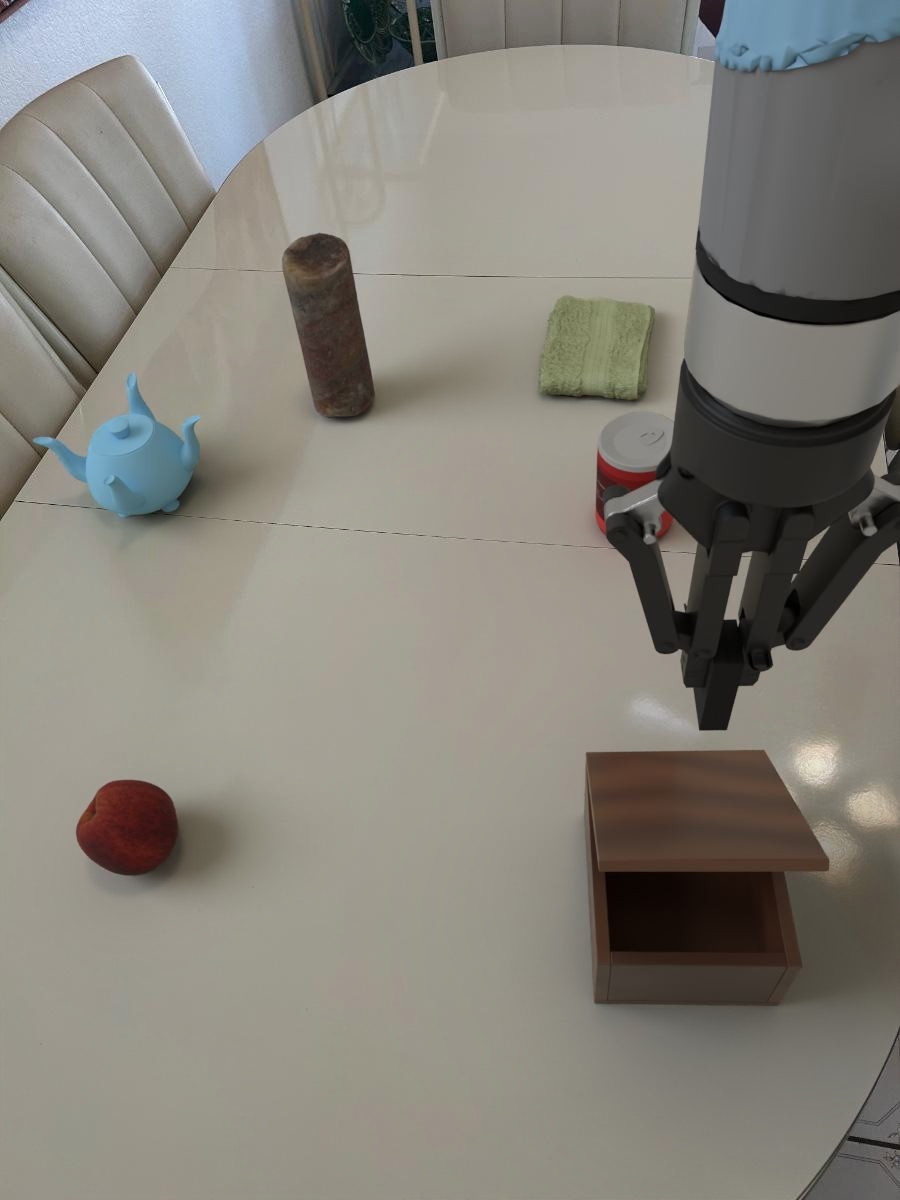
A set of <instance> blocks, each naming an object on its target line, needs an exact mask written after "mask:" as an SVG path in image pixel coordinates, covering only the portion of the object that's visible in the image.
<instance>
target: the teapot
mask: <svg viewBox="0 0 900 1200" xmlns="http://www.w3.org/2000/svg"><path fill="white" fill-rule="evenodd" d="M125 387H126V388H125V389H126V395H127V401H128V409H129V413H126V414H125V413H124V414H120V415H117V416H115V417H114V416H113V417H111V418H110V419H107V420H106V421H105V422H103V423H102V424H100V426H98V428H96V430H95V431H94V432H93V434H92V436H91V439H90V441H89V444H88V449H87V454H86V456H82V455H79V454H76V453H75V452H73V451H72V450H71V449H69V447H67V446H66V445H65V444H64V443H63V442H62V441H60V440H58V439H56V438H55V437H50V436H38V437H35V438H32V442H33V443H34V444H37V445H40V446H42V447H46V448H47V449H49V450H51V452H52V453H54V454H55V456H56V457H57V458H58V460H59V461H60V463H61V464H62V466H63V468H65V470H66V471H67V473H68V474H69V475H70V476H72V477H73V478H74V479H75V480H78V481H79V482H82V483H84V484H85V483H86V484H87V486H88V489H89V492H90V494H91V496H92V497H93V499H94V501H95V502H96V503H97V504H98V505H99V506H101V507H102V508H104V509H106V510H108V511H109V512H114V513H117V515H118V517H120V518H128V517H130V516H137V515H138V516H139V515H140V516H141V515H145V514H151V513H154V512H156V511H159V510H162V512H166V513H171V512H173V511H175V510H176V509H178V508H179V505H180V501H179V500H178V498H179V497H180V496H181V495H182V494H183V492H184V491H185V489H186V488H187V486H188V485H189V483H190V481H191V479H192V476H193V471H194V467H196V466H197V464H198V461H199V460H200V458H201V445H200V442H199V439H198V437H197V435H196V432H195V426H196V424H197V423H198V421H199V420H201V417H202V416H201V415H200V414H195V415H193V416H190V417H188V418H187V419H186V420H184V421H183V423H182V425H181V434H182V438H183V439H182V438H181V437H180V435H178V434H177V433H176V432H175V431H174V430H173V429H171V428H170V427H168V426H167V425H165V424H163V423H161V422H160V421H158V420H156V418H155V415H154V413H153V411H152V410H151V408H150V407H149V406H148V404H147V403H146V401H145V400H144V398H143V396H142V394H141V392H140V389H139V386H138V380H137V375H136V374H135V372H130V373H128V376H127V378H126V383H125Z"/></svg>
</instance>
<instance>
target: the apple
mask: <svg viewBox="0 0 900 1200" xmlns="http://www.w3.org/2000/svg"><path fill="white" fill-rule="evenodd" d="M178 821H179V820H178V817H177V811H176V806H175V803H174V801H173V799H172V797H171V795H169V794H168V793H167V791H166V790H164V789H163V788H161V787H160V786H158V785H156V784H154V783H151V782H148V781H145V780H138V779H117V780H112V781H109V782H107V783H106V784H104V785H102V786H101V787H100V788H99V789H97V791H96V793H95V794H94V797H93V798H92V800H91V801H90V803H89V804H88V806H87V808H86V809H84V811H83V813H82V814H81V816H80V817H79V819H78V821H77V824H76V829H75V837H76V841H77V844H78V847H80V849H81V850H82V852H83V853H84V854H85V855H86V856H87V858H88V859H90V860H91V861H92V862H93V863H95V864H96V865H98V866H99V867H101V868H103V869H104V870H106V871H108V872H110V873H114V874H116V875H120V876H127V877H128V876H129V877H136V876H141V875H145V874H149V873H151V872H153V871H155V870H157V869H158V868H159V867H160V866H162V864H163V863H165V861H166V860H167V859H168V858H169V857H170V855H171V853H172V852H173V850H174V849H175V846H176V842H177V840H178V836H179V822H178Z"/></svg>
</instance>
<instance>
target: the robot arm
mask: <svg viewBox="0 0 900 1200" xmlns="http://www.w3.org/2000/svg"><path fill="white" fill-rule="evenodd" d="M722 13H723V14H722V18H721V22H720V23H721V24H720V27H719V31H718V33H717V35H716V37H715V41H714V51H713V59H714V66H713V67H714V68H713V75H712V76H713V78H712V86H711V87H712V88H711V96H710V97H711V98H710V107H709V118H708V126H707V136H706V145H705V156H704V165H703V176H702V185H701V194H700V195H701V196H700V203H699V206H700V207H699V213H698V214H699V216H698V224H697V225H698V226H697V233H696V241H695V254H694V263H693V270H692V278H691V285H690V293H689V301H688V307H687V315H686V323H685V331H684V337H683V358H682V362H681V365H680V371H679V378H678V379H679V380H678V387H677V388H678V389H677V395H676V404H675V413H674V420H673V421H674V428H673V436H672V444H671V447H670V449H669V451H668V453H667V454H666V456H665V457H664V458H663V459H662V460H661V461H660V463H659V464H658V466H657V469H656V472H655V481H653V482H651V483H648V484H646V485H644V486H642V487H640V488H638V489H636V490H634V491H632V492H631V491H630V490H629V489H628V488H627V487H626V486H623V485H613V486H610V487H608V488H607V489H605V491H604V492H603V505H604V516H605V528H606V535H605V537H606V539H607V542H608V543H609V544H611V546H612V547H613V548H614V549H615V550H616V551H618V553H619V554H620V555H621V556H622V557H623V558H625V560H626V561H627V562H628V565H629V568H630V571H631V574H632V577H633V581H634V584H635V587H636V591H637V595H638V598H639V601H640V604H641V607H642V611H643V614H644V618H645V621H646V624H647V627H648V630H649V634H650V637H651V640H652V644H653V647H654V649H655V651H656V653H658V654H660V655H673V654H674V653H677V652H678V651H679V650H680V651H681V654H680V660H679V661H680V669H681V677H682V683H683V685H684V687H685V688H686V689H692V691H693V696H694V698H693V699H694V704H695V710H696V711H695V712H696V718H697V719H696V720H697V724H698V731H699V732H704V731H705V732H707V731H728V728H729V724H730V720H731V716H732V712H733V709H734V705H735V701H736V698H737V694H738V690H739V687H753V686H754V685H755V684H756V683H758V682H759V679H760V675H761V673H763V672H764V673H765V672H767V671H769V670H771V669H772V668H773V666H774V662H773V657H772V649H774V648H777V647H781V646H785V648H786V649H787V650H790V651H794V652H795V651H796V652H797V651H803V650H805V649H807V648H809V647H810V646H811V645H812V644H813V643H814V641H815V640H816V639H817V637H818V636H819V635H820V634H821V632H822V631H823V630H824V628H825V627H826V625H827V624H828V623H829V622H830V620H831V619H832V618H833V616H834V615H835V614H836V613H837V611H838V610H839V609H840V608H841V606H842V605H843V604H844V602H846V601H847V599H848V597H849V596H850V595H851V593H852V592H853V591H854V590H855V589H856V587H857V586H858V584H859V583H860V582H861V581H862V579H863V578H864V577H865V575H866V574H867V573H868V572H869V571H870V569H871V568H872V566H873V565H874V564H875V562H877V560H878V559H879V557H880V556H881V555H882V554H883V553H884V552H885V551H886V550H888V549H890V548H891V547H892V546H894V545H895V544H897V543H898V542H899V541H900V473H898V472H887V473H885V474H883V475H881V476H877V475H875V474H874V472H873V469H872V468H871V466H872V464H873V462H874V459H875V456H876V453H877V451H878V448H879V445H880V443H881V439H882V436H883V435H884V430H885V428H886V425H887V422H888V419H889V416H890V413H891V412H892V409H893V405H894V402H895V399H896V396H897V388H898V387H899V386H900V0H725V1H724V7H723V12H722ZM665 511H667V512H668V513H669V514H670V515H671V516H672V517H673V520H675V521H676V522H677V523H678V524H679V525H680V527H682V528H683V529H684V530H685V531H686V533H688V534H689V535H690V536H691V537H692V538H693V539H694V540H695V542H697V544H696V550H695V556H694V561H693V568H692V574H691V580H690V585H689V591H688V597H687V602H686V603H685V602H684V603H683V608H684V611H680V610H676V606H675V602H674V600H673V599H674V598H673V594H672V590H671V586H670V582H669V580H668V576H667V571H666V567H665V564H664V560H663V556H662V552H661V548H660V544H659V540H658V539H657V536H656V534H658V533H659V532H660V531H661V529H662V521H661V515H662V514H663V513H664V512H665ZM825 530H826V532H825V533H824V534H823V536H822V537H821V539H820V540H819V542H817V544H816V546H815V548H814V549H813V550H812V552H811V554H809V556H808V558H807V559H806V561H804V563H803V560H804V557H805V554H806V551H807V546H808V544H809V542H810V541H812V540H813V539H814V538H815V537H817V536H818V535H820V534H821V533H822V532H824V531H825ZM745 553H751V555H750V560H749V564H748V569H747V573H746V577H745V580H744V581H745V582H744V586H743V589H742V595H741V598H740V603H739V606H738V607H739V608H738V612H737V615H738V616H737V617H738V621H737V618H735V619H734V618H733V619H731V618H730V619H729V618H728V619H725V615H726V612H727V607H728V603H729V598H730V593H731V590H732V589H731V588H732V585H733V580H734V577H737V576H738V574H739V570H740V565H741V561H742V557H743V554H745ZM802 563H803V564H802ZM794 575H795V576H794ZM793 577H794V578H793Z"/></svg>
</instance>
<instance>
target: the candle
mask: <svg viewBox="0 0 900 1200" xmlns="http://www.w3.org/2000/svg"><path fill="white" fill-rule="evenodd" d="M281 267H282V268H281V269H282V274H283V277H284V282H285V286H286V289H287V291H286V292H287V294H288V298H289V302H290V307H291V312H292V316H293V320H294V323H295V324H294V325H295V329H296V332H297V333H296V334H297V336H298V340H299V345H300V348H301V353H302V357H303V362H304V367H305V371H306V377H307V381H308V384H309V388H310V393H311V397H312V398H311V399H312V402H313V406H314V408H315V411H316V412H317V413H318V414H320V415H321V416H323V417H327V418H333V417H354V416H358V415H359V414H361V413H362V412H364V411H365V410H367V409H368V407H369V405H370V404H371V403H372V402H373V400H374V398H375V395H376V391H375V386H374V380H373V379H374V378H373V374H372V368H371V362H370V357H369V353H368V347H367V342H366V341H367V340H366V336H365V331H364V330H365V329H364V325H363V320H362V315H361V311H360V310H361V309H360V304H359V299H358V292H357V288H356V280H355V276H354V270H353V265H352V259H351V253H350V249H349V247H348V245H347V243H346V241H344V240H343V239H342V238H341V237H338V236H336V235H332V234H328V233H324V232H318V233H317V232H316V233H314V234H308V235H306V236H301V237H298V238H297V239H295V240H294V241H292V242H290V244H289V245H288V247H286V249H285V250H284V251H283V254H282V257H281Z"/></svg>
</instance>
